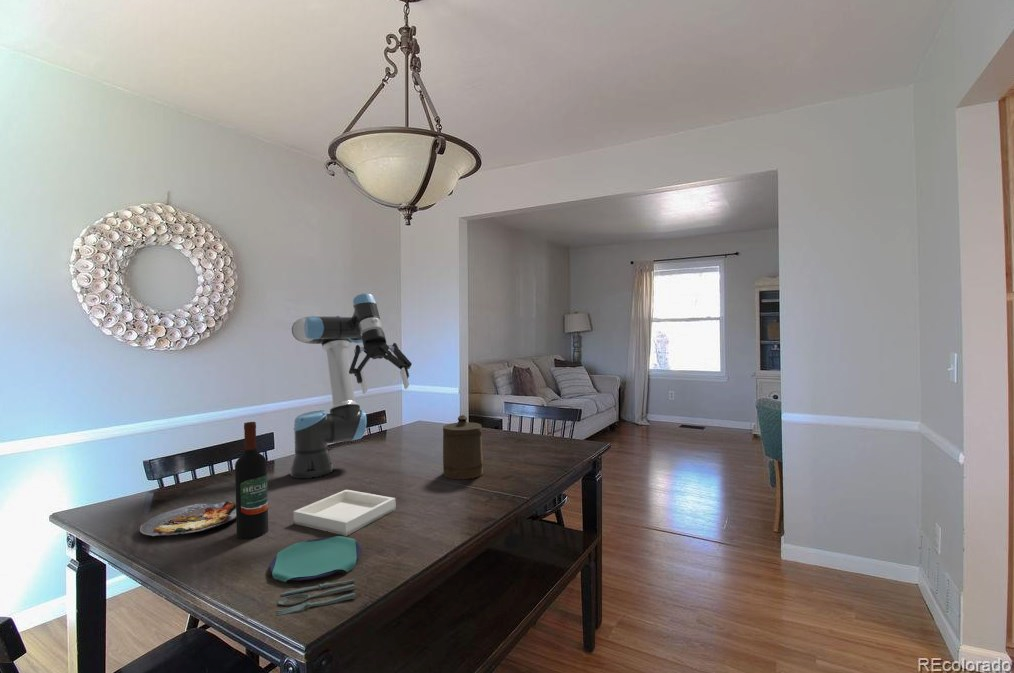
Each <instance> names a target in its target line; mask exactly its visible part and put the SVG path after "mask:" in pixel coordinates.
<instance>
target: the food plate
mask: <svg viewBox="0 0 1014 673" xmlns="http://www.w3.org/2000/svg"><path fill="white" fill-rule="evenodd" d="M207 507H209V508H207ZM211 507H213V508H211ZM201 508H206V509H205V512H204V514H203V513H202V514H201V515H202V516H199V514H196V515H195V514H193V515H190V516H180V517H177V518H176V519H172V520H170V521H168V522H169V523H174V522H187V521H194V520H197V519H199V518H200V517H204V518H205V519H210V520H201V521H196V522H187V523H182V524H169V523H168V524H165V525H160V526H159V527H157V528H155V527H156V526H157V525H159V524H160V523H161V522H165V520H167V519H170V518H172V517H175V516H177V515H181V514H183V513H184V512H186V513H188V512H187V511H188V510H195V509H201ZM214 508H220V509H218V510H216V509H214ZM190 512H192V511H190ZM228 515H229V516H228ZM234 520H236V501H229V500H226V501H225V500H224V501H215V502H214V501H213V502H212V501H211V502H202V503H195V504H190V505H185V506H183V507H179V508H176V509H173V510H169V511H165V512H163V513H161V514H157V515H155V516H153V517H152V518H149V519H148V520H146V521H145V522H144V523H142V524H141V525H140V527H139V532H140V533H142V534H143V535H146V536H150V537H151V536H152V537H155V536H169V537H170V536H173V535H179V534H180V535H181V534H182V535H184V536H185V534H191V533H196V532H197V533H198V532H203V531H207V530H211V529H213V528H216V527H219V526H222V525H225V524H227V523H229V522H232V521H234ZM151 527H152V528H151ZM154 528H155V529H154ZM153 529H154V530H153ZM172 529H175V530H172ZM152 530H153V532H151V531H152Z"/></svg>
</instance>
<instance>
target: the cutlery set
mask: <svg viewBox="0 0 1014 673" xmlns="http://www.w3.org/2000/svg"><path fill="white" fill-rule="evenodd" d="M361 550H362V547H361V545H360V543H359V542H357V541H356V539H354V538H353V537H347V536H344V535H336V536H329V537H317V538H315V539H309V540H306V541H298V542H294V543H293V544H291V545H289V546H287V547H285V548H283V549H281V550H280V551H278V552H277V554H276V556H275V557H274V558H273V560H272V561H271V562H270V564H269V565H270V573H271V574H272V578H273V579H274V580H276V581H279V582H280V581H281V582H283V583H287V582H288V581H299V582H302V581H311V580H316V579H320V578H325V577H329V576H331V575H333V574H336V573H338V572H340V571H342V570H343V571H345V572H346V573H349V572H350V571H352V570H353V569H354V567H356V563H357V559H359V557H360V556H361ZM352 582H353V583H352ZM345 583H352V584H348V585H344V586H341V587H337V588H332V589H329V590H326V591H323V592H322V591H321V592H319V593H316V594H312V595H310V594H307V593H303V592H308V591H314V590H322V589H327V588H329V587H331V586H334V585H341V584H345ZM354 583H355V578H352V579H349V580H344V581H337V582H324V583H322V584H321V583H319V584H318V585H314V586H307V587H301V588H295V589H293V590H292V589H291V590H287V591H284V592H281V593H280V597H283V596H285V597H283V598H281V599H280V600H278V603H277V604H278V605H281V606H290V607H288V608H283V609H278V610H276V614H275V615H276V616H277V617H278V616H281V615H287V614H293V613H300V612H304V611H305V610H307V609H310V608H312V607H321V606H325V605H331V604H336V603H340V602H343V601H348V600H354V599H356V593H355V592H352V593H349V594H344V595H341V596H338V597H334V598H331V599H327V600H321V601H315V602H311V601H308V602H305V601H306V600H309V599H313V598H316V597H321V596H324V595H329V594H333V593H338V592H343V591H349V590H350V591H351V590H355V584H354ZM296 598H303V600H300V601H296V602H293V603H286V601H287V602H288V600H292V599H296Z"/></svg>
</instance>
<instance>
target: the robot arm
mask: <svg viewBox="0 0 1014 673" xmlns="http://www.w3.org/2000/svg"><path fill="white" fill-rule="evenodd" d="M352 304H353V308H354V309H353V310H354V311H353V313H352V317H351V316H340V315H337V316H306V317H302V318H299V319H297V320H296V321H295V322H293V324H292V326H291V334H292V336H293V337H294V339H296V340H297V341H299V342H301V343H303V344H304V343H305V344H311V345H319V344H320V345H321V348H322V349H323V351H325V353H326V357H327V366H328V367H327V368H328V373H329V380H330V381H329V383H330V390H331V397H332V398H331V399H332V406H331V408H330V409H329V413H328V412H327V411H326V410H322V409H321V410H313V411H309V412H304V413H301V414H300V415H297V416H296V417H295V418H294V425H293V431H294V458H293V460H292V464H291V467H290V470H289V471H290V472H289V473H290V475H291V476H292V477H291V476H290V477H291V478H293V477H295V478H294V479H299V478H306V479H313V478H312V477H315V478H319V476H320V477H323V476H322V475H324V476H326V474H327V475H330V472H331V473H332V472H333V471H332V470H333V469H334V468H333V466H334V465H333V463H332V460H331V457H330V454H329V452H328V445H329V444H336V443H341V442H342V443H343V442H348V441H349V442H352V441H356V440H361V439H362V438H363V437H364V435H365V433H366V428H367V413H366V410H364V409H361V407H360V404H359V403H357V402H356V400H355V399H356V398H355V392H354V384H353V378H352V377H353V375H354V377H355V378H356V383H357V384H360V387H361V390H362V394H366V393H367V391H368V387H367V381H366V378H365V375H364V374H365V373H364V371H363V369H364V367H365V366H366V365H367V363H368V362H369V360H370V359H372V360H376V359H378V360H382V359H385V360H386V361H389V362H390V363H391V364H392V365H393V366H395V367H397V369H399V370H400V371H399V372H400V377H401V381H402V384H403V388H404V390H407V389H408V388H409V386H410V383H409V380H408V379H409V377H410V373H409V370H410V368H411V367H412V362H411V361H410V359H408V357H406V355H405V354H404V353H403V351H401V350H400V349H399V347H398V344H397V343H396V342H393V343H392V344H391V345H389V344H388V343H387V338H386V336H385V331H384V328H383V324H382V321H381V316H380V312H379V309H378V304H377V302H376V299H375V297H374V295H373V294H370V293H360V294H359V293H358V294H357V295H356V296H354V298H353V301H352ZM352 343H355V344H356V345H355V348H354V356H353V358H352V359H353V360H352V362H350V357H349V356H350V355H349V348H350V347H351V346H352ZM359 344H362V345H363V346H360V345H359ZM362 352H364V353H365V354H366V355H365V356H364V358H363V359H362V361H361V362H360V364H359V365H358V366H357V368H355V367H356V364H357V362H358V359H359V356H360V354H362ZM392 353H393V354H392ZM352 374H353V375H352Z"/></svg>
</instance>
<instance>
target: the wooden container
mask: <svg viewBox="0 0 1014 673" xmlns="http://www.w3.org/2000/svg"><path fill="white" fill-rule="evenodd" d="M467 419H468V418H467V416H465V414H464V415H463V414H461V415H459V416H458V417H457V422H453V423H448V424H445V425H443V426H442V433H443V435H442V438H443V439H442V442H443V443H442V465H443V466H442V468H443V469H442V470H443V476H444V477H445V478H447V479H452V480H459V479H461V480H470V478H472V479H476V478H478V476H479V477H480V476H482V475H484V474H483V473H484V464H483V463H484V461H483V460H484V456H483V454H484V453H483V436H482V433H483V431H482V429H483V428H482V427H483V426H482V424H481V423H477V422H468V421H467ZM475 477H476V478H475Z"/></svg>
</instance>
